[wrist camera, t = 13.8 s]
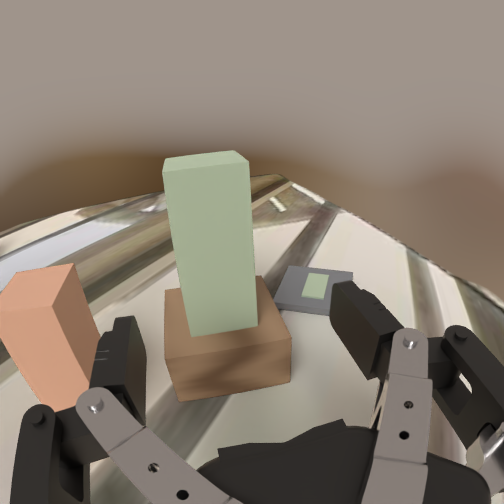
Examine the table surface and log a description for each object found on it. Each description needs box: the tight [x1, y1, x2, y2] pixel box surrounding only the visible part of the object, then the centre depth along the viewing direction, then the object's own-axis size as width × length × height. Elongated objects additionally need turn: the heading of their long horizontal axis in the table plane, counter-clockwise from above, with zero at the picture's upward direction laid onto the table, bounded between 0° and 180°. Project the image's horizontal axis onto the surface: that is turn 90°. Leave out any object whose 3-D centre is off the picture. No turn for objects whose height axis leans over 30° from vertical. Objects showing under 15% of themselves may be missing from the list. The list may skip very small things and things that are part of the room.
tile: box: [273, 265, 353, 316], centre depth 36 cm, size 8×8×1 cm
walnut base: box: [164, 276, 292, 402], centre depth 26 cm, size 9×9×5 cm
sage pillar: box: [162, 150, 258, 337], centre depth 23 cm, size 5×5×12 cm
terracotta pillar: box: [0, 263, 101, 412], centre depth 19 cm, size 5×5×12 cm
